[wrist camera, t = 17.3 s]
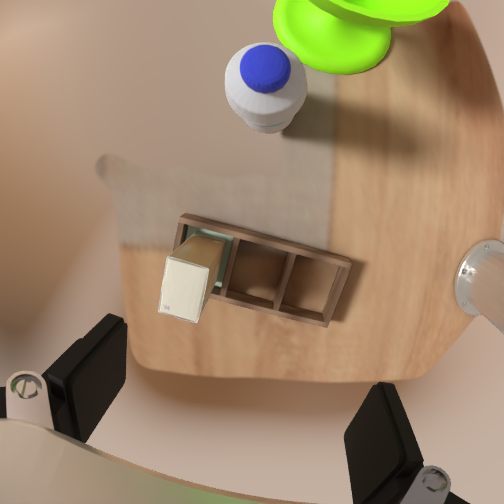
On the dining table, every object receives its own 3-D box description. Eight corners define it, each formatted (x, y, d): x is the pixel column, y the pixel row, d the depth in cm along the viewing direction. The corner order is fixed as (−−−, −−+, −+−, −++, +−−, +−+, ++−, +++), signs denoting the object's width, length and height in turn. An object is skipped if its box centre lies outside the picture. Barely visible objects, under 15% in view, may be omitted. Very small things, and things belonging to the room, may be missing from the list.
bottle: (265, 74, 35) (258, 2, 16) (307, 108, 36) (339, 62, 17) (229, 113, 37) (189, 72, 18) (271, 147, 38) (269, 135, 19)
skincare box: (217, 282, 43) (197, 327, 31) (186, 273, 43) (156, 314, 31) (228, 236, 41) (210, 268, 29) (195, 228, 41) (166, 256, 29)
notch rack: (347, 257, 41) (352, 263, 39) (324, 319, 44) (327, 327, 41) (185, 213, 41) (179, 216, 38) (172, 278, 43) (166, 285, 41)
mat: (234, 234, 41) (234, 235, 41) (221, 285, 43) (221, 287, 43) (190, 222, 41) (189, 223, 41) (179, 274, 43) (178, 275, 43)
